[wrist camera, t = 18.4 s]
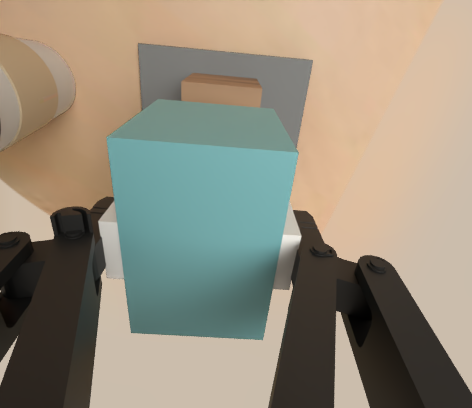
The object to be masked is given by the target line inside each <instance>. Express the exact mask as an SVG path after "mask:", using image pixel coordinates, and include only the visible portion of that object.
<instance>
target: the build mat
mask: <svg viewBox="0 0 472 408" xmlns="http://www.w3.org/2000/svg"><path fill="white" fill-rule="evenodd" d="M138 50H139V66H140V83H141V99H142V110H144V109H145V108H147V107H148V106H149V105H151V104H152V103H153V102H155V101H156V100H157V99H164V100H176V101H181V81H182V80H184V79H185V78H187V77H188V76H189V75H191V74H192V73H202V74H212V75H223V76H234V77H244V78H255V79H257V80H258V82H259V84H260V85H261V87H262V96H261V104H260V108H270V109H274V110H275V112H276V114H277V116H278V117H279V119H280V121H281V123H282V124H283V126H284V128H285V130H286V131H287V133H288V135H289V137H290V138H291V140H292V142H293V144H294V145H295V147H296V148H297V142H298V137H299V132H300V127H301V121H302V116H303V111H304V105H305V100H306V95H307V89H308V84H309V79H310V74H311V68H312V63H313V60H306V59H296V58H286V57H275V56H265V55H255V54H244V53H234V52H224V51H213V50H203V49H193V48H182V47H172V46H162V45H151V44H141V43H138Z"/></svg>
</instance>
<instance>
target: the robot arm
mask: <svg viewBox="0 0 472 408" xmlns="http://www.w3.org/2000/svg"><path fill="white" fill-rule="evenodd" d="M50 219H51V223H52V227H53V231H54V239H52V240H45V241H37V242H31V239H30V235H29V234H27V233H25V232H19V231H18V232H8V233H3V234H1V235H0V290H1V292H0V362H1V360H2V359H3V357H4V356H5V354H6V353H7V351H8V350H9V348H10V347H11V345H12V344H13V342H14V341H15V339H16V338H17V336H18V338H17V341H16V344H15V347H14V349H13V352H12V355H11V357H10V360H9V363H8V366H7V368H6V371H5V374H4V377H3V380H2V382H1V385H0V408H89V405H90V396H91V386H92V376H93V366H94V357H95V347H96V338H97V328H98V318H99V309H100V298H101V289H102V281H101V274H102V272H103V271H104V269H106V275H107V278H114V279H124V273H123V265H122V257H121V249H120V241H119V233H118V225H117V217H116V209H115V201H114V197H105V198H103V199H101V200H99V201H98V202H97V203H96V204H95V205H94V206H93V208H92V209H91V210H90V211H89V210H88V209H87V208H83V207H67V208H63V209H60V210H58V211H56V212H54V213H53V214H52V215H51V216H50ZM291 280H292V284H293V290H292V295H291V299H290V303H289V307H288V314H287V319H286V324H285V328H284V333H283V338H282V343H281V348H280V353H279V358H278V363H277V368H276V372H275V377H274V382H273V387H272V392H271V396H270V401H269V407H268V408H334V378H335V331H336V330H335V329H336V311H339V312H341V315H342V318H343V322H344V325H345V328H346V331H347V335H348V338H349V341H350V344H351V347H352V351H353V354H354V357H355V360H356V364H357V367H358V370H359V374H360V377H361V380H362V383H363V386H364V390H365V393H366V396H367V399H368V403H369V406H370V408H472V394H471V392H470V390H469V389H468V387H467V385H466V384H465V382H464V380H463V379H462V377H461V376H460V374H459V372H458V371H457V369H456V367H455V366H454V364H453V363H452V361H451V359H450V358H449V356H448V354H447V353H446V351H445V350H444V348H443V346H442V345H441V343H440V341H439V340H438V338H437V336H436V335H435V333H434V332H433V330H432V328H431V327H430V325H429V323H428V322H427V320H426V319H425V317H424V315H423V314H422V312H421V310H420V309H419V307H418V306H417V304H416V302H415V301H414V299H413V297H412V296H411V294H410V293H409V291H408V289H407V288H406V286H405V284H404V283H403V281H402V279H401V278H400V276H399V275H398V273H397V271H396V270H395V268H394V267H393V266H392V265H391V264H390V263H389V262H387V261H386V260H384V259H382V258H380V257H376V256H372V255H365V256H362V257H360V259H359V260H358V263H354V262H351V261H347V260H343V259H341V258H339V257H337V254H336V251H335V250H334V249H333V248H332V247H330V246H329V245H327V244H325V243H324V241H323V239H322V237H321V234H320V232H319V230H318V229H317V225H316V224H315V221H314V219H313V217H312V216H311V215H310V214H309V213H308V212H307V211H298V210H292V207H291V204H290V201H289V206H288V211H287V216H286V221H285V227H284V232H283V237H282V242H281V248H280V253H279V258H278V263H277V269H276V274H275V279H274V285H273V289H283V290H289V288H290V284H291Z"/></svg>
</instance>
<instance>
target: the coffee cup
mask: <svg viewBox="0 0 472 408" xmlns="http://www.w3.org/2000/svg"><path fill="white" fill-rule="evenodd" d="M75 94H76V85H75V80H74V77H73V74H72V72H71V70H70V68H69V66H68V65H67V63H66V62H65V60H64V59H63V58H62V57H61V56H60V55H59V54H58V53H57V52H56V51H55V50H53V49H52V48H50V47H49V46H47V45H45V44H43V43H41V42H38V41H33V40H27V39H20V38H13V37H11V36H8V35H4V34H0V152H1V151H3V150H5V149H7V148H8V147H10V146H12V145H13V144H15V143H17V142H18V141H20V140H22V139H23V138H25V137H27V136H28V135H30V134H32V133H33V132H35V131H37V130H38V129H40V128H42V127H43V126H45V125H46V124H48V123H49V122H50V121H51V120H52V119H53V118H55V117H57V116H58V115H60V114H62V113H63V112H65V111H67V110H68V109H69V108H70V107H71V105H72V104H73V102H74V99H75Z"/></svg>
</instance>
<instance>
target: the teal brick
mask: <svg viewBox="0 0 472 408" xmlns="http://www.w3.org/2000/svg"><path fill="white" fill-rule="evenodd" d="M106 138H107V146H108V154H109V162H110V170H111V178H112V186H113V193H114V201H115V209H116V217H117V225H118V233H119V241H120V249H121V257H122V265H123V273H124V280H125V289H126V296H127V305H128V312H129V320H130V328H131V333H142V334H161V335H180V336H199V337H218V338H236V339H255V340H263V337H264V332H265V327H266V321H267V316H268V311H269V305H270V300H271V294H272V290H273V285H274V279H275V274H276V269H277V263H278V258H279V253H280V248H281V242H282V237H283V232H284V227H285V221H286V216H287V211H288V206H289V200H290V195H291V190H292V185H293V179H294V174H295V169H296V164H297V158H298V153H299V152H298V151H297V149H296V147H295V145H294V144H293V142H292V140H291V138H290V137H289V135H288V133H287V131H286V130H285V128H284V126H283V124H282V123H281V121H280V119H279V117H278V116H277V114H276V112H275V110H274V109H270V108H258V107H246V106H235V105H223V104H211V103H199V102H188V101H176V100H164V99H157V100H156V101H155V102H153V103H152V104H151V105H149V106H148V107H147V108H145V109H144V110H142V111H141V112H140V113H138V114H137V115H136V116H134V117H133V118H132V119H130V120H129V121H128V122H126V123H125V124H124V125H122V126H121V127H120V128H118V129H117V130H116V131H114V132H113V133H112V134H110V135H109V136H107V137H106Z"/></svg>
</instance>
